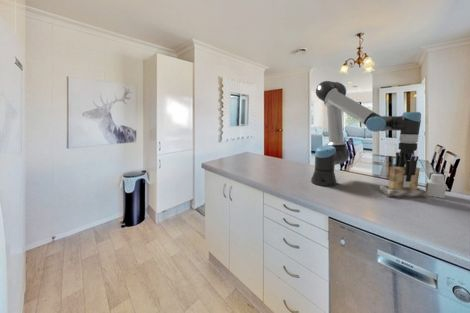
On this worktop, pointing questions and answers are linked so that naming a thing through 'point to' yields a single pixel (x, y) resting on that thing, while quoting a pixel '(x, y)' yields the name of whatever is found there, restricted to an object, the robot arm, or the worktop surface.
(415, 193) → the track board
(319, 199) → the worktop surface
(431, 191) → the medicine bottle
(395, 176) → the door slab
